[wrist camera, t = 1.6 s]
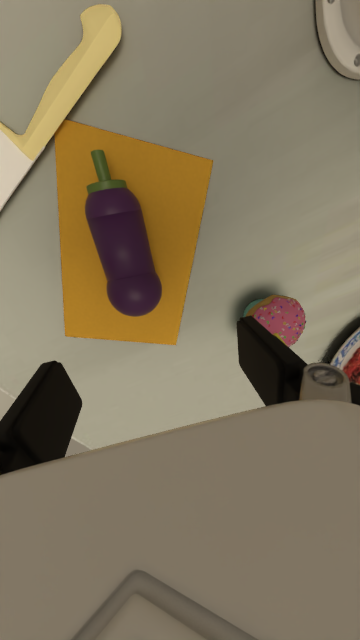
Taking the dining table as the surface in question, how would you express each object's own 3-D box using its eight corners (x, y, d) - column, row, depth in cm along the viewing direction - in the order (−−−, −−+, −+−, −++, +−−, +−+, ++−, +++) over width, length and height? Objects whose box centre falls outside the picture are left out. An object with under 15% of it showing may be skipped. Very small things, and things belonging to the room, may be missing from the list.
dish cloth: (54, 117, 20) (53, 115, 19) (212, 161, 23) (213, 160, 23) (65, 335, 29) (65, 336, 29) (175, 344, 33) (175, 345, 32)
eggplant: (71, 164, 21) (44, 144, 15) (133, 154, 21) (129, 131, 16) (119, 309, 29) (112, 331, 23) (164, 299, 29) (169, 319, 23)
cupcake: (232, 340, 34) (271, 395, 23) (230, 291, 30) (277, 331, 19) (281, 330, 35) (341, 379, 24) (286, 281, 31) (360, 314, 20)
